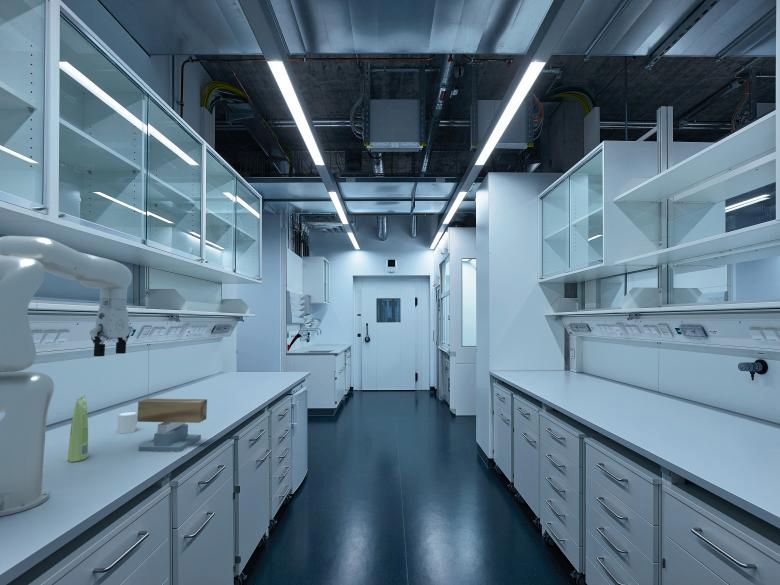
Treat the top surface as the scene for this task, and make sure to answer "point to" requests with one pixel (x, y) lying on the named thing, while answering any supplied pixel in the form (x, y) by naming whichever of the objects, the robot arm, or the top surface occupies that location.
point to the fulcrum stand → (170, 438)
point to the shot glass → (127, 422)
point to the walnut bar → (172, 410)
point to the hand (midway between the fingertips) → (110, 354)
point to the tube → (79, 432)
